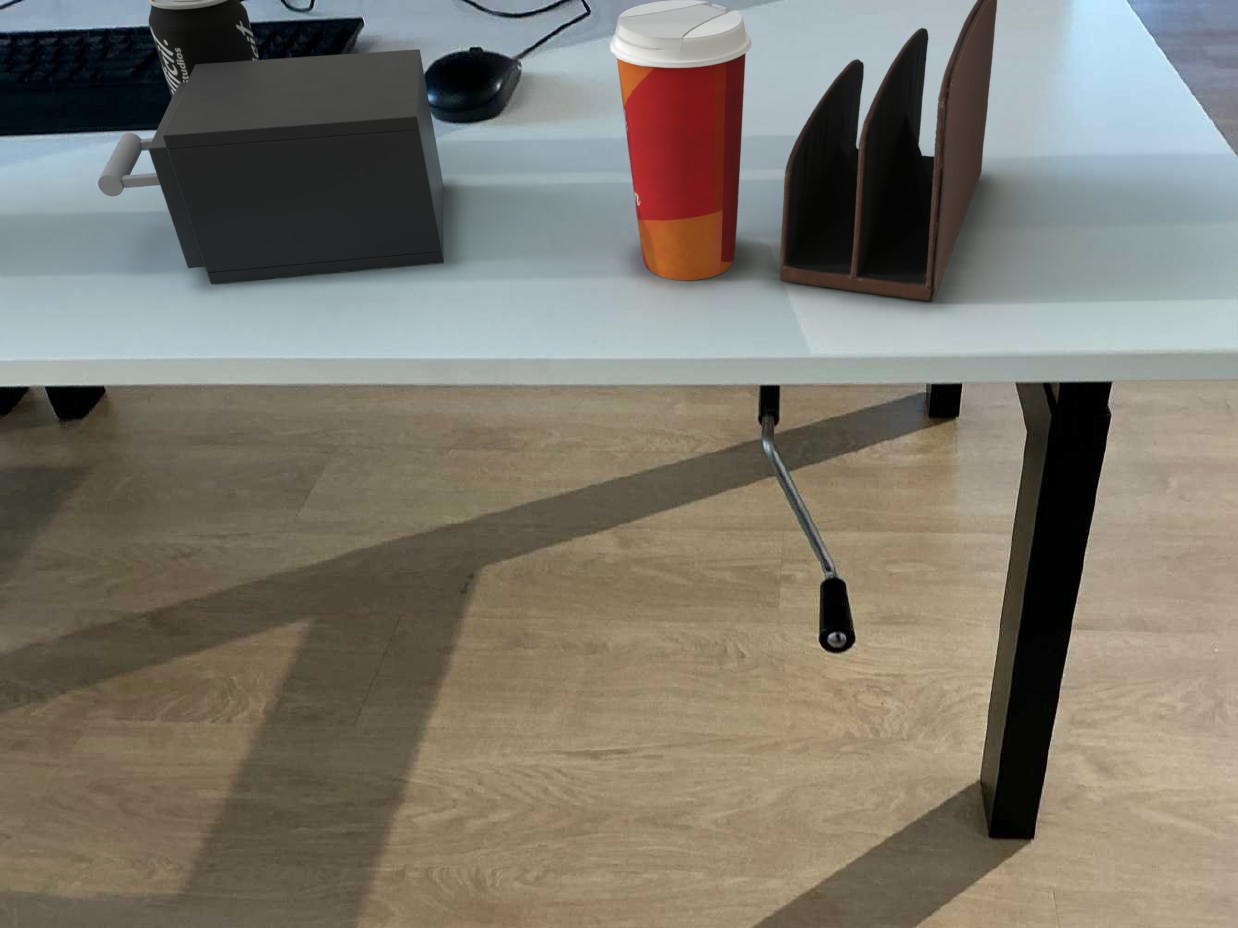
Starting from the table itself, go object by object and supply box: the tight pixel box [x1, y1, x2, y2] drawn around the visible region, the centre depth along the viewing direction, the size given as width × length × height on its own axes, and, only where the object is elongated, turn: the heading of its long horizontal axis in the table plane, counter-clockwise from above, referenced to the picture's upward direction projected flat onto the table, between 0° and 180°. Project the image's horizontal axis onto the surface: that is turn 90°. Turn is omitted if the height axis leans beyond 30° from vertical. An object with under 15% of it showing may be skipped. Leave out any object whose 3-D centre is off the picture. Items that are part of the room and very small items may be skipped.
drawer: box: [97, 82, 205, 269], centre depth 78 cm, size 18×11×8 cm, turn 101°
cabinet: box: [163, 48, 445, 285], centre depth 79 cm, size 15×13×10 cm
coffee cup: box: [609, 0, 753, 281], centre depth 73 cm, size 8×8×15 cm
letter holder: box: [778, 0, 998, 302], centre depth 77 cm, size 10×20×14 cm, turn 163°
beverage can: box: [148, 0, 260, 99], centre depth 87 cm, size 7×7×12 cm
